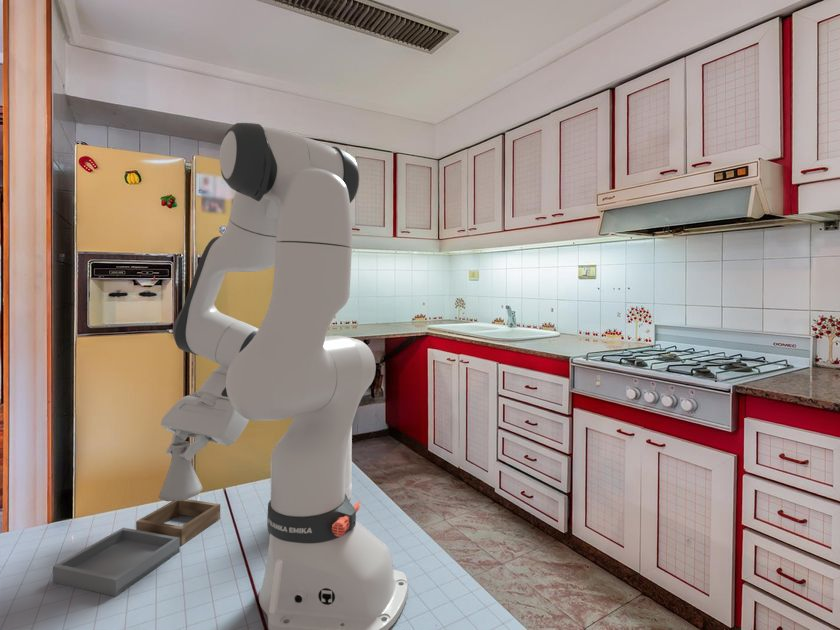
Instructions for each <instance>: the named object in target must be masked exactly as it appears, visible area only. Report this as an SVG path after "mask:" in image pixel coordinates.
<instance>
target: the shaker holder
mask: <svg viewBox="0 0 840 630" xmlns="http://www.w3.org/2000/svg"><path fill="white" fill-rule="evenodd" d="M178 515H182V516H186V517H187V516H188V517H193V518H192V519H191V520H189V521H187V522H185V523H184V524H183V525H181V526H180V525H176V524H170V523H166V522H168V521H170V520H172V519H174V518H175V517H176V516H178ZM219 520H221V503H216V502H215V503H214V502H209V501H208V502H207V501H202V500H196V499H195V500H194V499H190V498H188V499H186V500H184V501H169V502H168V503H166V504H164V505H162V507H159V508H157V509H156V510H154V511H152V512H150V513H148V514H146V515H145V516H143V517H142V518H140V519H138V520H136V521H135V528H136V529H135V530H140V531H145V532H151V533H157V534H162V535H168V536H173V537H179V538H180V546H184V545H185V544H186V543H188V542H189V541H190V540H192V539H193V538H195V537H196V536H198V535H199V534H201V533H202V532H203V531H205V530H207V529H208V528H210V526H212V525H213V524H215V523H217V522H218V521H219Z"/></svg>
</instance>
